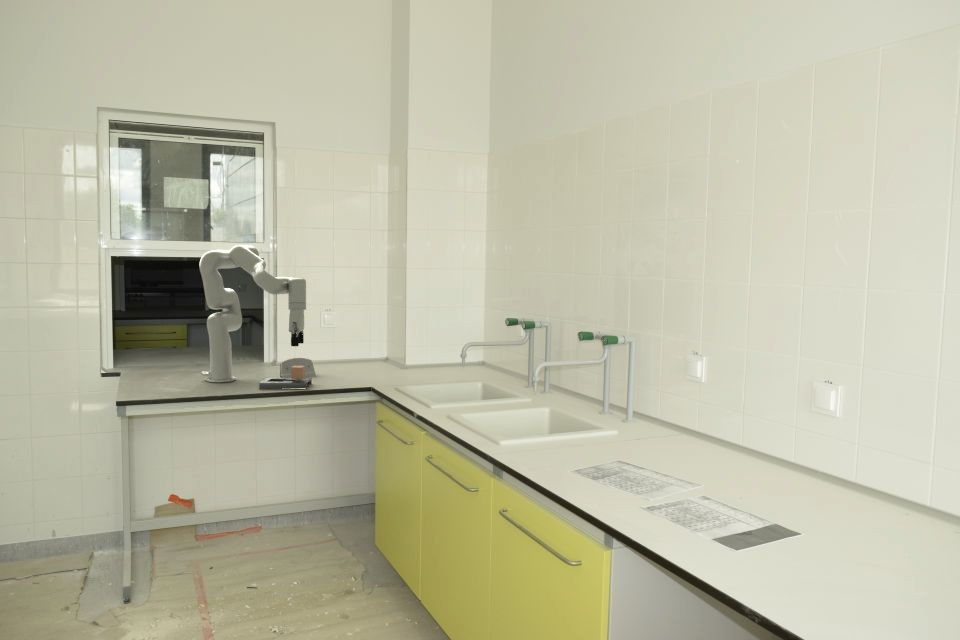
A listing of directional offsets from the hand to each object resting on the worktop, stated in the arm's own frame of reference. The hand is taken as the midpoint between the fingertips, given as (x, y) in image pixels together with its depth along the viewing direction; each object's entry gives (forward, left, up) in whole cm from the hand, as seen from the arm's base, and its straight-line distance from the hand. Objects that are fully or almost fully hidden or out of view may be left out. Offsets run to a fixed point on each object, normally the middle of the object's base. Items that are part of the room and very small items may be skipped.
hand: (297, 344), depth 319 cm
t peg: (0, 0, -19) cm, 19 cm away
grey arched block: (-6, +26, -19) cm, 33 cm away
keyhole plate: (-5, 0, -19) cm, 19 cm away
